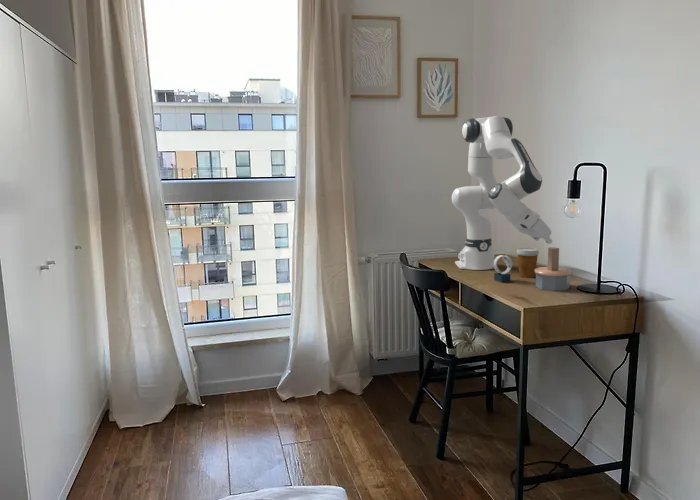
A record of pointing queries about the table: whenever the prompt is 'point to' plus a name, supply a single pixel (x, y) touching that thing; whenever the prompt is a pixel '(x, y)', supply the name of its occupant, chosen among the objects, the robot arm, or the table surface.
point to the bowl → (552, 282)
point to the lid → (553, 265)
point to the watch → (504, 275)
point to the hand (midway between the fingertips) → (544, 240)
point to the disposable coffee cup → (527, 261)
